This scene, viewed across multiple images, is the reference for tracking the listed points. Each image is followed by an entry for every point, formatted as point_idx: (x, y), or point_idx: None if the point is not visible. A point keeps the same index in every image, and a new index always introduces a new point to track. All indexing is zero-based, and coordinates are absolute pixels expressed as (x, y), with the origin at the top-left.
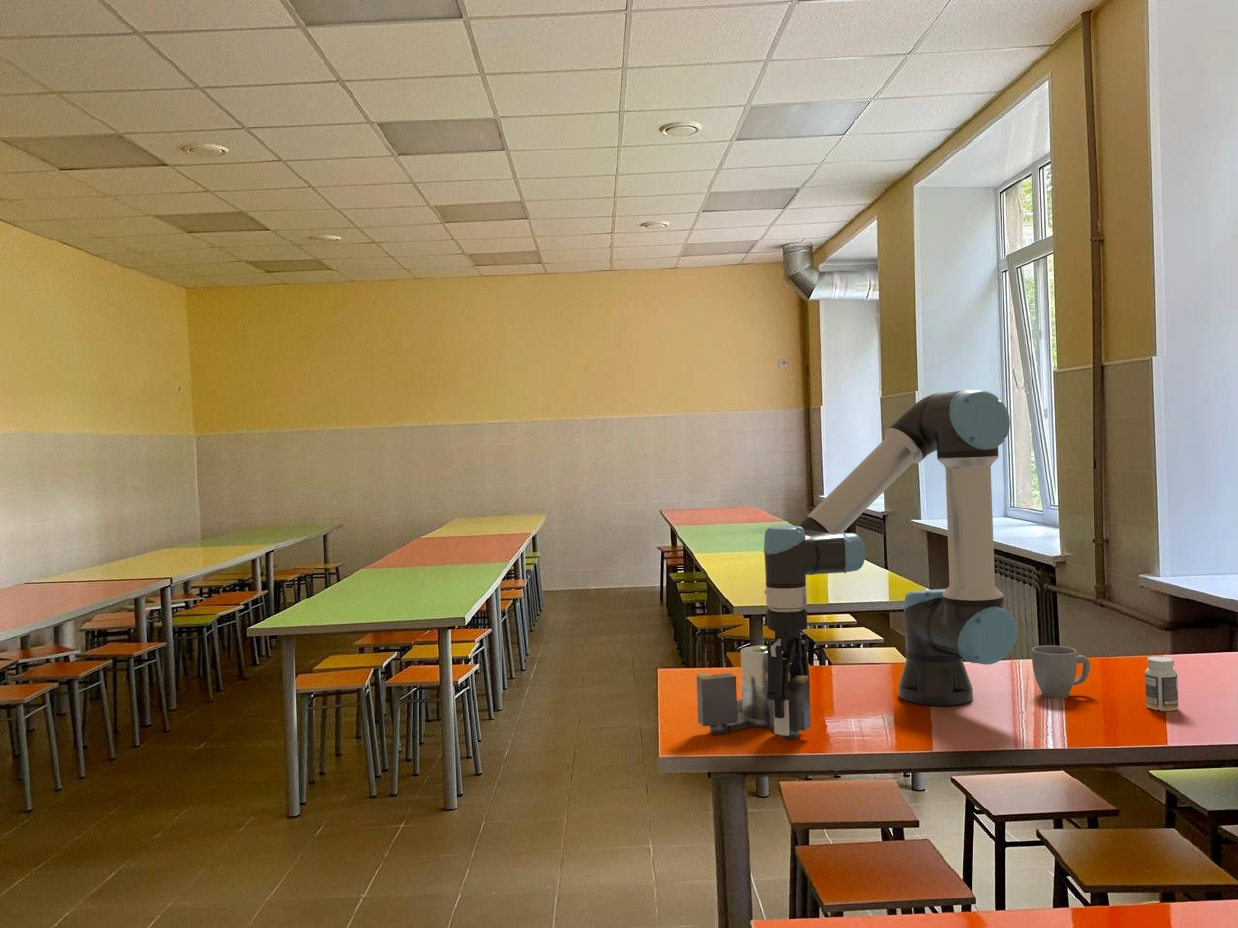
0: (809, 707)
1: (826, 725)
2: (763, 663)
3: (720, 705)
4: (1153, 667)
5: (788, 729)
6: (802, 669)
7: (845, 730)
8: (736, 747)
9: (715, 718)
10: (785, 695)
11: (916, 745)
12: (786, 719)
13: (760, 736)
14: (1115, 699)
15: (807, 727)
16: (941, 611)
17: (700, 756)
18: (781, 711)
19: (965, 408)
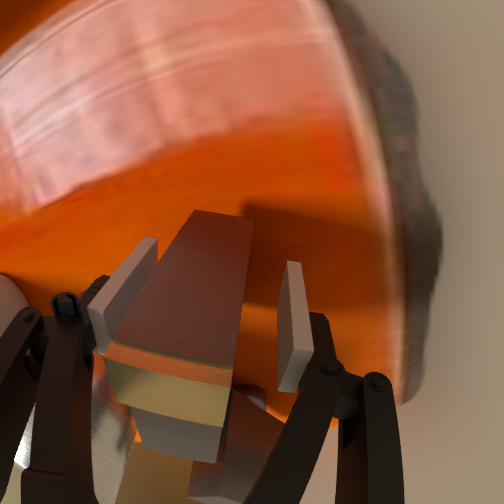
0: (181, 243)
1: (76, 187)
2: (96, 476)
3: (258, 445)
4: None
5: (295, 272)
6: (46, 393)
7: (96, 118)
8: (345, 350)
9: (267, 425)
10: (320, 375)
11: None
12: (303, 298)
13: (243, 327)
14: None
15: (225, 216)
16: None
17: (403, 379)
18: (331, 334)
19: None
